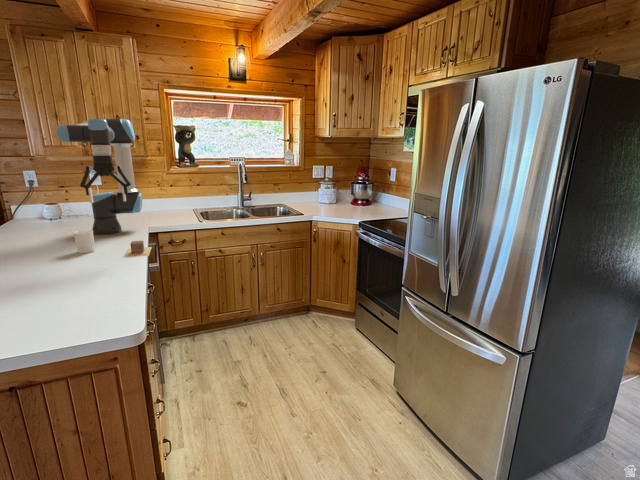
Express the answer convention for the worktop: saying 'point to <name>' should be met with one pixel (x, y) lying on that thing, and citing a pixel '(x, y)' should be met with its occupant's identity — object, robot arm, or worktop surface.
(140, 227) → the worktop surface
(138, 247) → the walnut block
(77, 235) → the white cup
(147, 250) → the envelope
